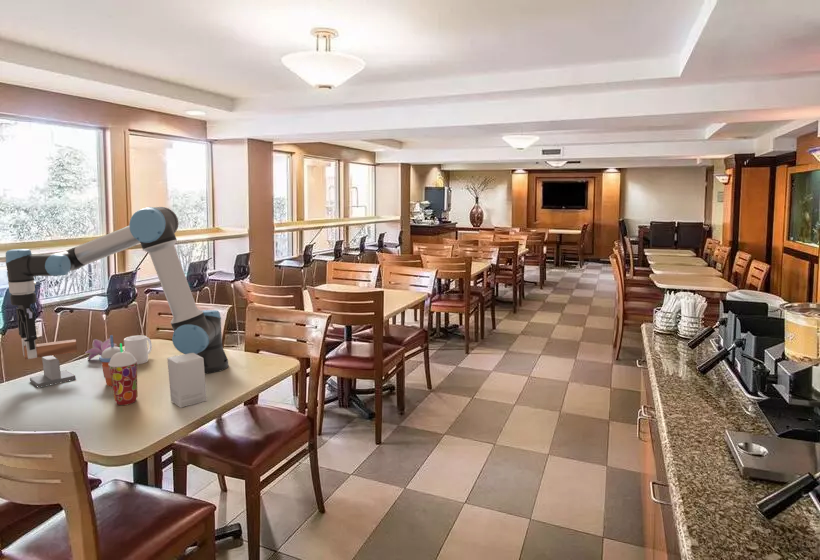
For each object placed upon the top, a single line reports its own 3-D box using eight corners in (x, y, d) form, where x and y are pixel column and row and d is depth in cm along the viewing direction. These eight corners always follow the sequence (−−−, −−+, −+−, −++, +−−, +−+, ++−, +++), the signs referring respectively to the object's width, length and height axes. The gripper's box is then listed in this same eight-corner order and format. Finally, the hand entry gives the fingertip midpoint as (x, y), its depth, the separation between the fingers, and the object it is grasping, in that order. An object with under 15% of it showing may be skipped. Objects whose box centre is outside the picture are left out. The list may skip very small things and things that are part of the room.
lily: (123, 357, 240) (113, 337, 241) (119, 353, 229) (109, 332, 230) (93, 370, 235) (83, 349, 236) (88, 367, 224) (78, 345, 225)
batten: (77, 351, 208) (76, 341, 208) (25, 359, 200) (23, 348, 199) (76, 349, 212) (75, 339, 211) (25, 356, 203) (24, 345, 202)
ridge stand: (75, 379, 209) (73, 357, 208) (38, 387, 200) (35, 364, 199) (66, 373, 216) (64, 352, 214) (30, 381, 207) (27, 359, 206)
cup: (121, 363, 227) (119, 339, 226) (144, 355, 239) (142, 332, 237) (137, 365, 225) (134, 341, 223) (159, 357, 236) (157, 334, 234)
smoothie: (121, 397, 190) (115, 340, 187) (145, 397, 190) (139, 340, 186) (107, 406, 182) (100, 347, 178) (132, 406, 181) (126, 347, 178)
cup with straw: (122, 377, 210) (117, 331, 207) (135, 382, 205) (130, 334, 202) (97, 384, 203) (92, 336, 200) (109, 389, 198) (104, 340, 195)
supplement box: (207, 401, 185) (204, 357, 183) (180, 408, 180) (176, 363, 177) (197, 394, 192) (193, 351, 190) (170, 400, 186) (166, 357, 184)
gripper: (42, 294, 195) (50, 359, 199) (27, 288, 207) (35, 349, 211) (17, 297, 190) (25, 363, 193) (3, 291, 202) (11, 354, 205)
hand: (30, 356), depth 202 cm, fingers closed on batten, 5 cm apart
